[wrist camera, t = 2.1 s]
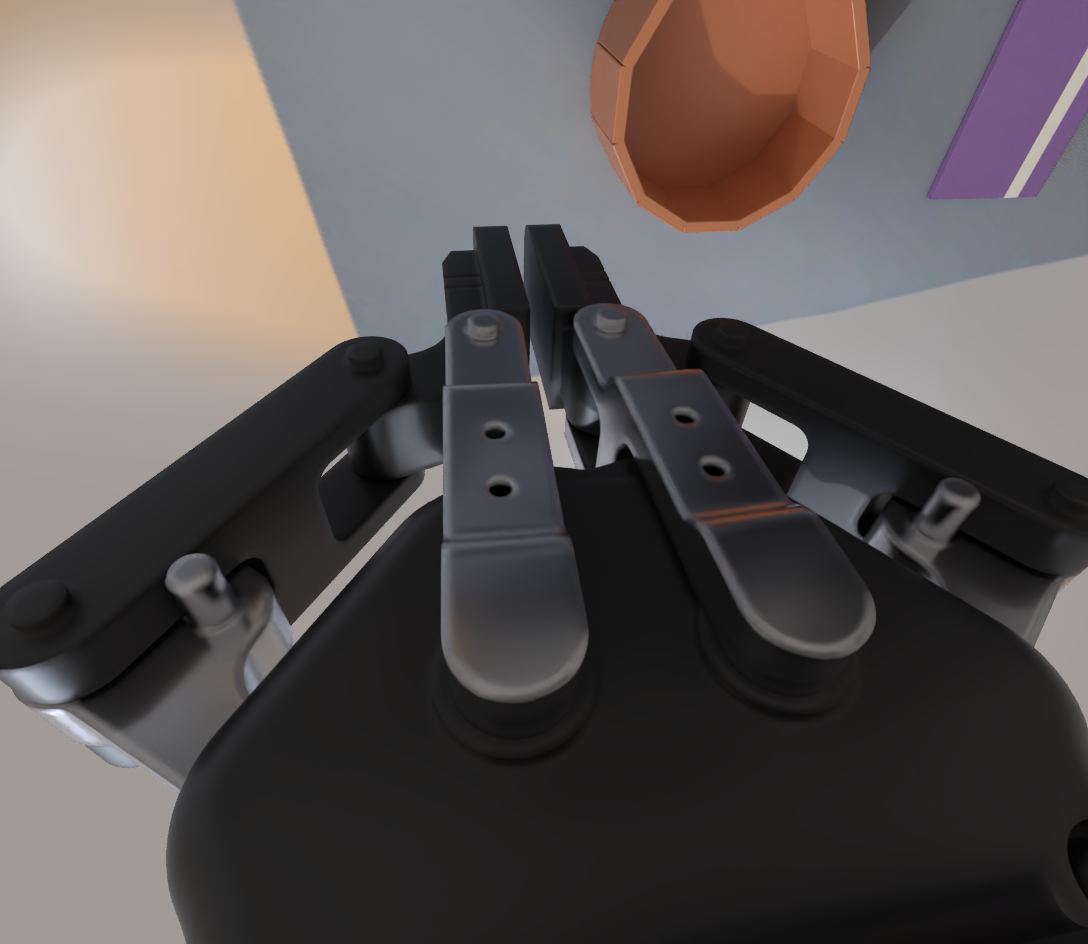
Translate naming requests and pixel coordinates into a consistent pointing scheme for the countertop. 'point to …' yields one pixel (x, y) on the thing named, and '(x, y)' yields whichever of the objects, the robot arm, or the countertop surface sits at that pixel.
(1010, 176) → the towel
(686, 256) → the countertop surface
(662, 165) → the pan
